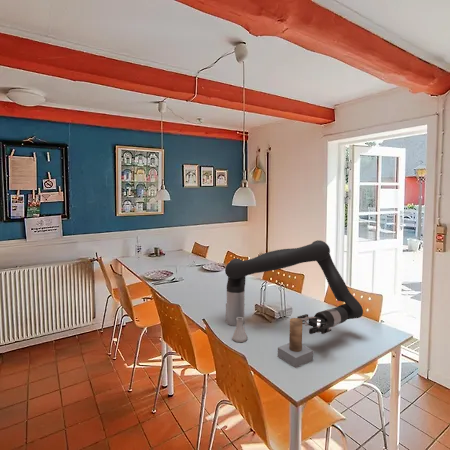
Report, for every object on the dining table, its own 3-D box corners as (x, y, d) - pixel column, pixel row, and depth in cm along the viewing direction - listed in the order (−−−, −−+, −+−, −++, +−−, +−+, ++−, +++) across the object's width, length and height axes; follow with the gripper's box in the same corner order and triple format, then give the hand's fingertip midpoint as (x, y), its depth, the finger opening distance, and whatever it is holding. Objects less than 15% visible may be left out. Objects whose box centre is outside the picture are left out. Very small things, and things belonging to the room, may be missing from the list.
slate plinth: (277, 356, 129) (277, 347, 129) (294, 349, 135) (295, 340, 134) (295, 367, 121) (295, 357, 120) (313, 360, 126) (313, 350, 126)
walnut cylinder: (286, 347, 128) (287, 319, 127) (295, 344, 131) (295, 317, 130) (295, 353, 124) (296, 324, 123) (304, 349, 127) (305, 321, 125)
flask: (228, 340, 143) (228, 319, 142) (237, 334, 149) (237, 314, 148) (242, 344, 139) (242, 322, 138) (250, 338, 145) (250, 317, 144)
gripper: (315, 305, 143) (289, 313, 134) (342, 315, 131) (315, 325, 122) (314, 321, 143) (289, 330, 134) (341, 333, 132) (315, 343, 123)
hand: (301, 327), depth 128 cm, fingers open, 8 cm apart
